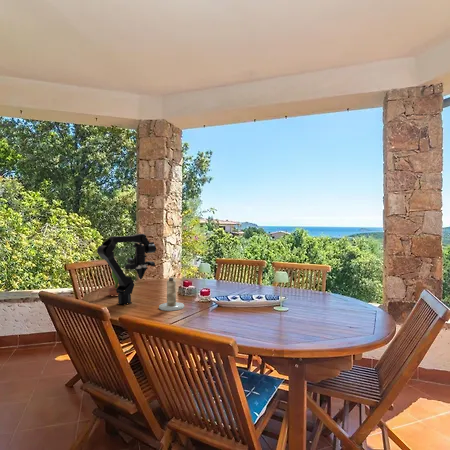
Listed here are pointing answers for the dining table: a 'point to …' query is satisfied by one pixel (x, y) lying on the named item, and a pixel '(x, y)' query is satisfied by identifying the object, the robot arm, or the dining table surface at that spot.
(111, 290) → the potted flower
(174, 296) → the beige striped cylinder
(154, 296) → the dining table surface
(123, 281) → the robot arm
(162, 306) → the plate
